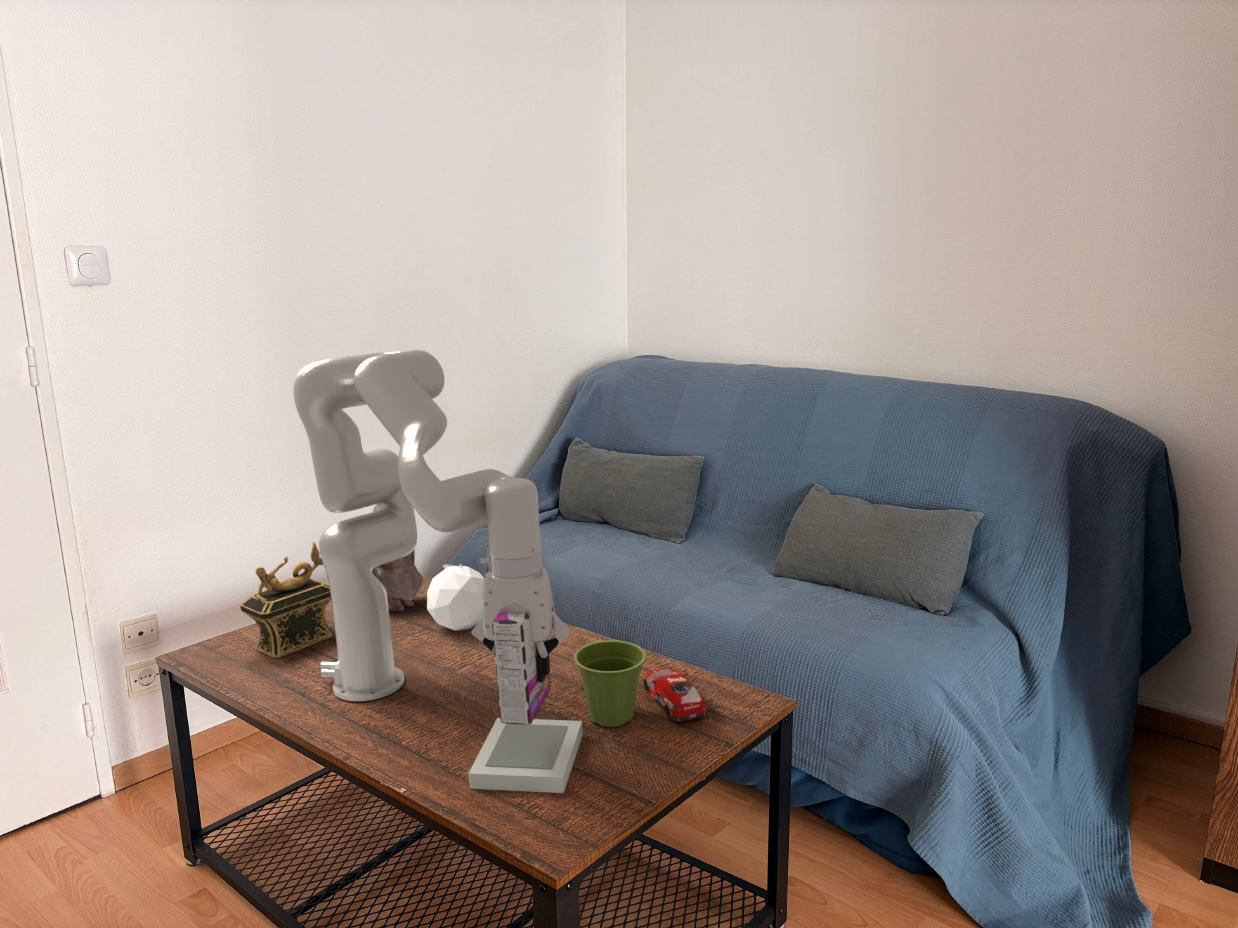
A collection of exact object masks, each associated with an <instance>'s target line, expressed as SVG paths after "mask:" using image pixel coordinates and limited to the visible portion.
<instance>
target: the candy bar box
mask: <svg viewBox="0 0 1238 928" xmlns="http://www.w3.org/2000/svg"><path fill="white" fill-rule="evenodd" d="M492 630H493V641H494V652H495V656H494V662H495V671H496V683H497V695H498V696H497V697H498V707H499V718H500V719H501V723H505V724H521V725H531V723H532V722H533V720H534V719H535V718H536V716H537V714H538V713H539V711H540V708H541V707H542V706H543V704H544V702H545V700H546V698H547V697H548V695H549V694H550V691H551V690H552V688H551V677H550V676H551V675H550V674H549V675H546V677H545V679H544V682H543V683H540V682H538V673H537V657H538V655H539V651H538V649H537V646H536V643H535V642H531V633H530V621H529V615H528V614H514V613H513V614H512V613H505V614H503V613H502V614H497V616H496V617H495V618H494V619H493V620H492Z"/></svg>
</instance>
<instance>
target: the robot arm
mask: <svg viewBox="0 0 1238 928" xmlns="http://www.w3.org/2000/svg"><path fill="white" fill-rule="evenodd" d="M444 386H445V374H444V370H443V367H442V365H441V363H440V362H439V361H438V360H437V358H435V356H434V355H432V354H431V353H430V352H428V351H426V350H421V349H413V350H403V351H402V350H400V351H399V350H398V351H397V350H396V351H382V352H381V351H379V352H370V353H365V354H358V355H357V354H356V355H347V356H340V357H333V358H326V359H321V360H318V361H315V362H314V361H313V362H311V363H309V364H307V365H304V367H302V368H301V369H300V370H299V371H298V373H297V374H296V376H295V379H294V382H293V389H292V392H293V400H294V401H293V402H294V405H295V409H296V412H297V414H298V416H299V418H300V420H301V423H302V425H303V427H304V429H305V432H306V435H307V439H308V442H309V448H310V455H311V460H312V465H313V471H314V476H315V481H316V487H317V491H318V496H319V499H320V501H321V504H322V505H323V507H324V509H326V510H327V511H328V512H330V513H333V514H334V513H335V514H343V513H348V512H353V511H357V510H360V509H364V508H368V507H371V506H376V508H377V511H375V512H373V511H371V512H368V513H365V514H361V515H357V516H354V517H350V518H346V519H343V520H340V521H338V522H335V523H334V524H331V525H330V526H328V527H327V528H326V529H325V530H324V531H323V532H322V533H321V536H320V538H319V541H318V550H319V553H320V558H321V559H322V562H323V565H322V566H323V567H324V571H325V574H326V578H327V581H328V585H329V588H330V594H331V601H330V602H331V607H332V617H333V623H334V632H335V642H336V650H337V658H338V661H327V660H324V661H321V663H320V666H319V670H320V677H322V678H333V679H334V680H333V683H332V692H333V694H334V695H335V697H337V698H339V699H340V700H343V701H346V702H347V701H348V702H367V701H368V702H369V701H374V700H378V699H382V698H385V697H387V696H390V695H392V694H393V693H395V692H397V691H398V690H399V689H400V688H401V687H402V686H403V685H404V683H405V674H404V672H403V670H402V669H400V668H398V667H396V666H395V662H394V661H395V660H394V651H393V642H392V640H393V639H392V632H391V631H392V630H391V623H390V622H391V620H390V613H389V612H390V611H389V610H388V601H387V593H386V590H385V587H384V585H383V584H382V583H381V582H380V581H379V580H378V579H377V578H376V577H375V576H374V574H373V572H372V570H373V569H374V568H375V567H378V566H380V565H382V564H385V563H388V562H391V561H394V560H397V559H400V558H402V557H405V556H407V555H409V554H410V553H411V552H412V551H413V550H415V548H416V545H417V543H418V528H417V521H416V514H415V511H416V512H417V514H418V515H419V516H420V517H421V519H422V520H423V521H424V522H425V523H426V524H427V525H428V526H430V527H431V528H432V529H434V530H435V531H436V532H437V531H438V532H440V533H452V532H453V533H454V532H456V531H460V530H463V529H466V528H468V527H472V526H474V525H478V524H482V523H485V522H486V527H487V541H488V553H487V554H485V555H480V558H479V561H480V563H479V564H480V565H485V566H487V567H488V571H487V572H486V573H485V574H484V589H483V617H482V618H481V620H480V621H479V622H478V623H477V624H476V625H474V626H473V628H472V630H471V635H472V636H473V637H474V638H476V639H477V640H478V641H479V642H482V643H483V645H484V646H485V647H486V648H487V649H488V650H490V652H491V655H492V656H493V657H495V652H494V641H493V630H492V620H493V619H494V618H495V617H496V616H497V614H502V613H503V614H505V613H512V614H513V613H514V614H528V615H529V621H530V633H531V642H535V643H536V646H537V649H538V651H539V655H538V657H537V673H538V682H540V683H543V682H544V679H545V677H546V675H550V672H551V663H550V662H551V661H550V653H552V651H554V650H555V649H556V648H557V647H558V646H559V644H562V642H563V641H565V640H566V639H567V638H569V636H570V634H571V629H570V628H569V627H568V626H567V624H565V623H564V622H563V621H562V620H561V618H560V617H559V616H558V615H557V614H556V611H555V604H554V598H553V590H552V586H551V583H550V578H549V574H548V571H547V569H546V568H545V567H543V559H542V541H541V529H540V527H541V525H540V513H539V512H540V509H539V496H538V495H539V494H538V488H537V486H536V484H535V483H534V482H533V481H532V480H530V479H527V478H523V477H512V476H510V475H508V474H506V473H504V472H502V471H500V470H497V469H492V468H491V469H490V468H488V469H487V468H485V469H481V470H478V471H474V472H471V473H465V474H462V475H458V476H455V477H451V478H447V479H443V480H441V479H440V478H439V477H438V476H437V475H436V474H435V472H433V470H432V469H431V468H430V467H429V465H428V463H427V462H426V459H425V458H424V455H425V454H426V453H427V452H429V451H430V450H431V449H432V448H433V447H434V446H436V444H437V443H438V442H439V441H440V440H441V439H442V437H443V436H444V434H445V432H446V430H447V427H448V419H447V416H446V413H445V412H444V411H443V410H442V409H441V408H440V406H439V405H438V404H437V402H435V400H434V399H435V398H437V397H438V396H440V395H441V393H442V392H443V389H444V388H445V387H444ZM366 405H367V406H368V408H369V409H370V411H371V412H372V413H373V414H374V415H375V417H376V418H377V419H378V420H379V422H380V423H381V424H382V426H383V427H384V428H385V430H386V431H387V432H388V433H389V435H390V436H391V438H392V439H393V440H394V441H395V442H396V444H397V445H398V446H399V451H398V454H396V453H395V452H394V451H392V450H389V449H385V448H378V449H377V448H376V449H372V450H368V451H364V450H363V443H362V438H361V434H360V429H359V427H358V425H357V424H356V423H355V421H354V420H353V418H352V417H350V416H349V414H348V413H347V412H346V411H344V410H343V409H348V408H354V407H361V406H366ZM553 629H554V630H555V631H556V634H555V635H552V634H553V633H552V632H553Z"/></svg>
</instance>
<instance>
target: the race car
mask: <svg viewBox="0 0 1238 928" xmlns="http://www.w3.org/2000/svg"><path fill="white" fill-rule="evenodd" d="M687 676H688V674H687V673H684V674H683V673H679V671H677V670H674V669H671V668H657V669H654V670H651V671H650V672H648V673H647V674H646V675H645V676H644V678H643V684H644V686H643V687H644V690H645V691H646V692H647V694H649V695H650V697H652V699H653V700H654V701H655V703H656V704H657V705H658V706H659V707H660V708H661V709H662V711H663V712H665V716H667V717H668V718H667V719H671V720H673V721H676V722H687V721H691V720H696V719H701V718H704V717H705V716H706V713H707V710H706V708H707V707H706V703H705V700H704V697H703V696H702V694H701V693H700V691H698V690H697V688H696V687H695V686H694V685H693V683H692V682H691V681H690V680H689V678H688V677H687Z"/></svg>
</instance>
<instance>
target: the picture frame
mask: <svg viewBox="0 0 1238 928" xmlns="http://www.w3.org/2000/svg"><path fill="white" fill-rule="evenodd" d="M583 736H584V735H583V721H582V720H565V719H563V720H561V719H560V720H559V719H537V718H536V719H535V718H534V720H533V722H532V723H531V725H521V724H505V723H501V719H500V717H496V720H495V721H494V724H493V725H492V728H491V729H490V730H489V733H488V735H487V737H486V739H485V741H484V743H483V744H482V747H481V748H480V751H479V752H478V754H477V756H476V758H475V760H474V762H473V764H472V766H471V767H470V769H469V771H468V782H469V789H471V790H487V791H488V790H491V791H492V790H493V791H508V792H509V791H510V792H511V791H512V792H513V791H514V792H533V793H534V792H535V793H554V794H564V793H565V790H566V788H567V783H568V781H569V778H570V775H571V773H572V769H573V767H574V766H573V765H574V763H575V760H576V756H577V753H578V750H579V747H580V744H581V741H582V738H583Z"/></svg>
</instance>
